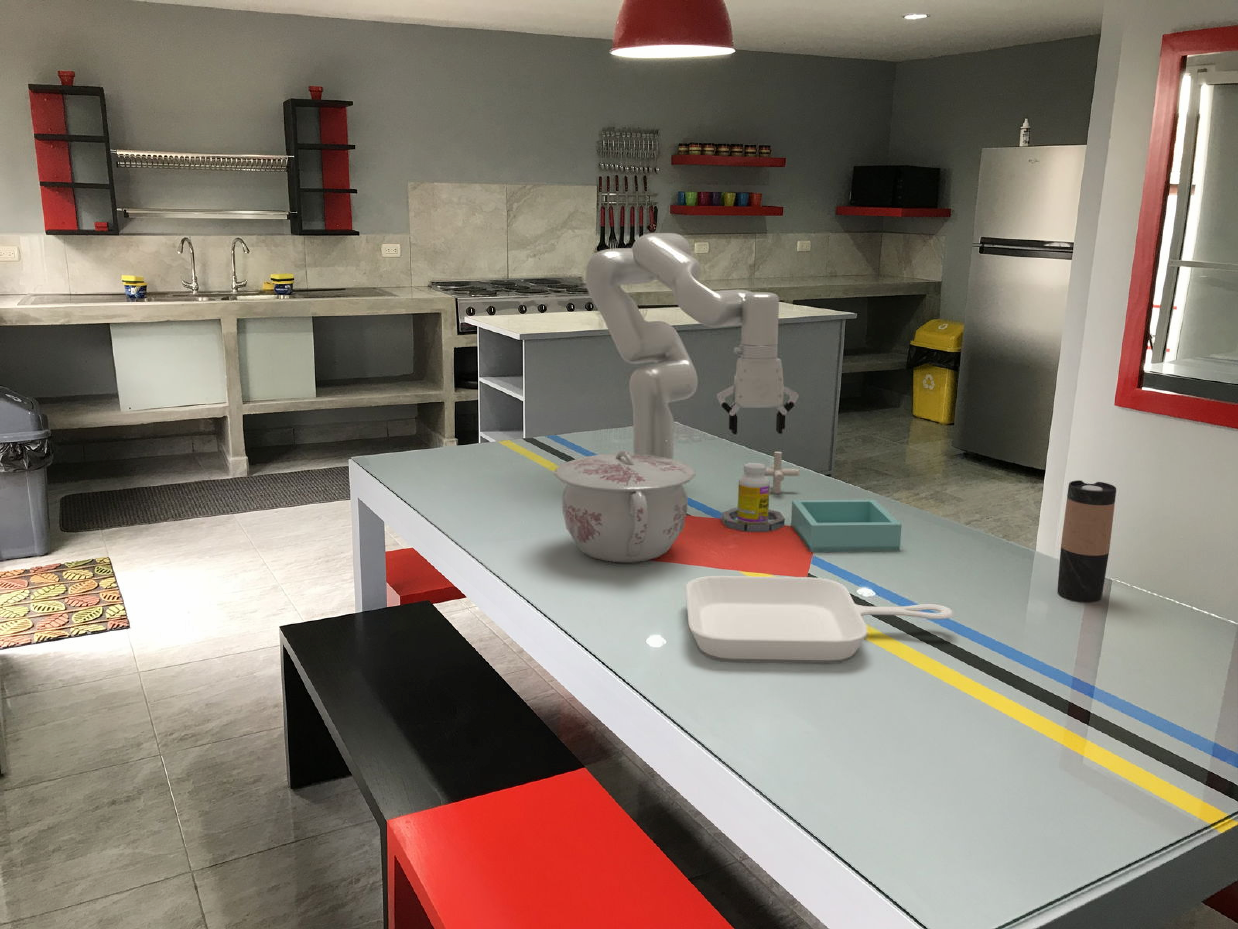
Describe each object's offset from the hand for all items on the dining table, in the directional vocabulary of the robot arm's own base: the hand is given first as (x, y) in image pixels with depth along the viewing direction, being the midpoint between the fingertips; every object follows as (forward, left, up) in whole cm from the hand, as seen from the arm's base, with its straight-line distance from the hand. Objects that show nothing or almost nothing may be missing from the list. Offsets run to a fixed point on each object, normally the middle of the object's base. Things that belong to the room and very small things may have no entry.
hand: (756, 432), depth 212 cm
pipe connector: (+10, +24, -20) cm, 33 cm away
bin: (+17, -11, -20) cm, 28 cm away
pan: (0, -59, -21) cm, 62 cm away
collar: (0, 0, -20) cm, 20 cm away
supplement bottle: (0, 0, -20) cm, 20 cm away
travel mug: (+50, -45, -20) cm, 70 cm away
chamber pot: (-29, -19, -20) cm, 40 cm away
